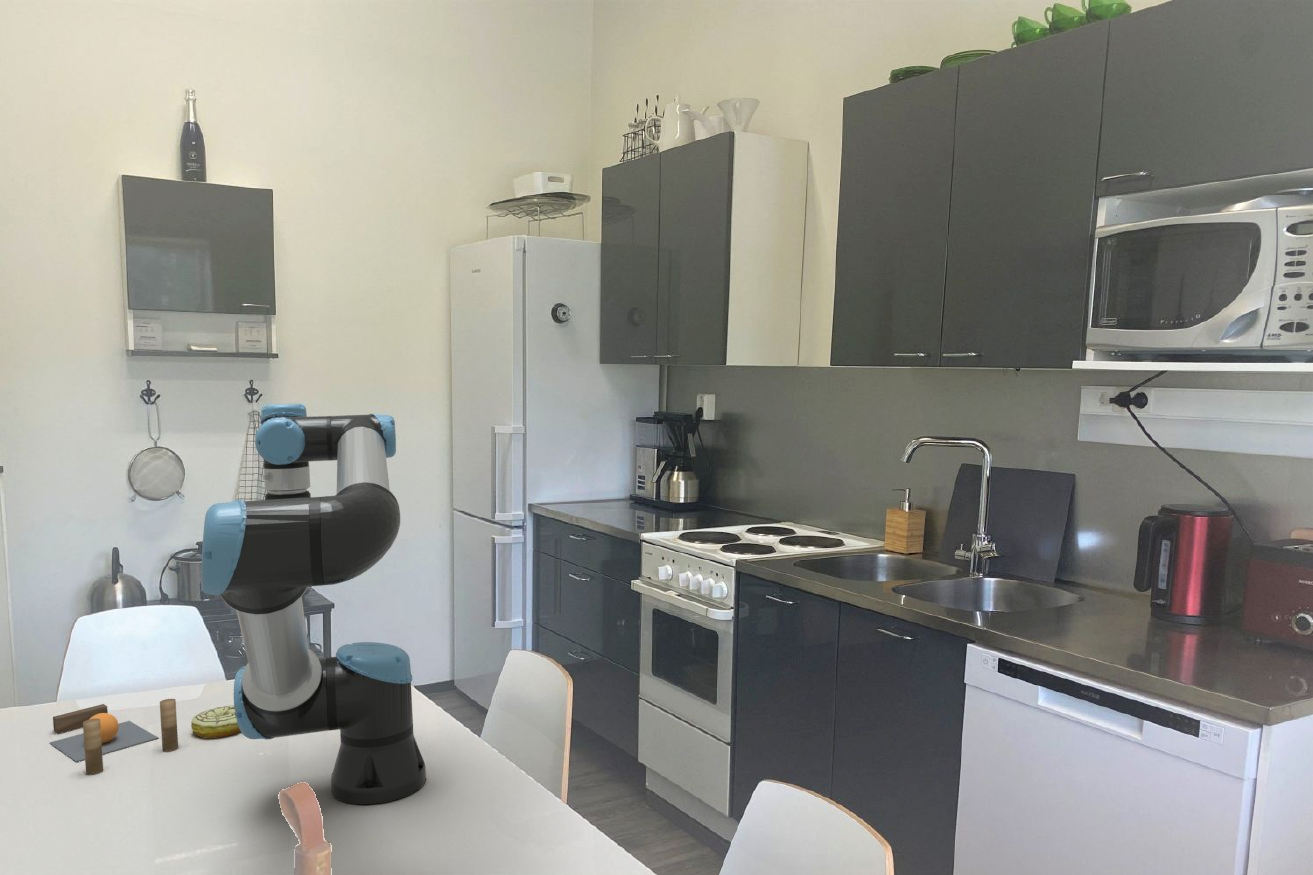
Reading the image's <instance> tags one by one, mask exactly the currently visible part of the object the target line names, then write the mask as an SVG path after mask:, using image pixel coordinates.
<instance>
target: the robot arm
mask: <svg viewBox="0 0 1313 875" xmlns="http://www.w3.org/2000/svg"><path fill="white" fill-rule="evenodd" d="M260 410H261V412H260V414H261V415H260V420H259V421H260V426H258V429H257V431H256V433H255V437H254V438H255V440H254V444H255V448H256V452H257V453H258V455H259V456H260V457H261V458H262V459H263V473H264V474H263V475H262V479H263V480H264V490H265V491H267V492H268V493H266V494H265V495H264V499H262V500H261V499H260V500H259V499H258V500H243V499H236V500H235V501H228V502H226V501H225V502H218V503H215V504H212V505H210V507H209V508H208V509H207V511H206V513H205V516H204V523H203V524H204V525H203V534H202V549H201V551H202V552H201V567H200V568H201V571H200V581H201V582H200V588H201V592H202V593H203V594H205V595H213V596H215V597H216V596H217V597H218V596H220V597H221V599H222V600H223V602H224V603H225V604H226V605H227V606H228V607H230V608H232V609H233V611H234V610H235V612H236V614H237V619H238V623H239V627H240V628H239V629H240V633H241V637H242V641H243V645H244V651H245V655H246V659H247V664H246V665H244V666H242V667H240V668H239V670H238V671H237V672H236V674H235V677H234V681H233V705H234V708H235V712H236V719H237V723H238V726H239V729H240V733H241V734H242V735H243V736H244V737H245V738H247V739H249V740H272V739H275V738H276V739H277V738H283V737H290V736H297V735H305V734H314V733H320V732H328V731H338V730H339V731H340V733H339V736H340V745H339V749H338V752H337V756H336V760H335V763H334V767H333V769H332V770H333V771H332V773H331V778H330V789H331V794H332V796H333V797H334V798H335V799H336V800H338V801H340V802H343V803H346V804H353V805H373V804H374V805H376V804H382V803H388V802H392V801H396V800H399V799H403V798H404V797H407V796H410V795H411V794H413V793H415V792H417V791H418V790H420V789H421V788H422V787H423V786H424V784H425V782H426V780H427V775H426V772H427V770H426V764H425V761H424V758H423V755H422V753H421V751H420V748H419V745H418V743H417V740H416V737H415V735H414V718H413V717H414V715H413V695H412V681H413V678H414V677H413V674H412V670H411V659H410V656H409V654H408V653H407V651H405V650H404V649H403V648H402V647H399V646H397V645H395V644H394V645H392V644H389V643H384V642H383V643H382V642H375V641H364V642H363V641H362V642H352V643H350V644H349V643H346V644H344V645H341V646H340V647H338V649H337V650H336V652H335V656H330V657H318V656H317V655H316V654H315V652H314V651H313V650H312V649H310V647H309V640H308V635H307V627H306V618H305V617H306V616H305V612H304V611H305V610H304V604H303V595H304V594H305V593H306V591H307V589H308V587H319V586H320V587H321V586H332V585H338V584H340V583H344V582H348V581H350V580H353V579H354V578H357V577H359V576H361V575H363V574H364V573H366V572H367V571H369V570H370V569H371V568H373V567H374V566H375V565H376V564H377V563H379V562H380V560H382V559H383V558H384V556H385V555H386V554H387V552H388V551H390V549H391V548H392V546H393V544H394V542H395V541H396V538H397V537H398V534H399V530H400V526H401V512H400V510H401V509H400V505H399V502H398V499H397V497H396V495H394V493H393V492H392V491H391V489H390V482H389V473H388V462H387V458H388V459H389V458H392V457H395V455H396V452H397V438H396V435H397V434H396V424H395V422H396V421H395V419H394V417H393V415H390V414H375V413H369V414H351V415H350V414H349V415H327V416H326V415H323V416H322V415H319V416H308V415H307V408H306V406H305V405H304V404H302V403H273V404H272V403H271V404H270V403H269V404H265V405H263V406H262V408H261V409H260ZM323 461H327V462H328V461H336V494H335V495H331V496H330V495H327V496H326V495H325V496H314V497H313V496H311V492H310V491H309V490H308V489H309V488H310V487H311V476H310V474H311V473H310V471H311V470H310V463H309V462H323Z"/></svg>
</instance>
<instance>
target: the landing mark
mask: <svg viewBox="0 0 1313 875" xmlns="http://www.w3.org/2000/svg"><path fill="white" fill-rule="evenodd" d="M118 725H119V728H118V732H117V734H116V735H115V737H114V738H113V739H112V740H110V741H109V742H107V743H104V744H102V756H104V755H107V754H110V753H109V752H111V753H114V752H117V751H122V750H123V749H127V747H128V748H130V746H131V747H133V746H134V745H135V746H137V745H141V744H145V743H149V742H151V741H150V740H152V741H155V740H157V739H156V738H158V739H159V737H158V736H157V735H156V734H155V735H154V734H152V732H150V731H148V730H147V729H145V728H143V727H141V726H139V725H138V724H136V723H134V722H132V721H130V720H127V721H122V722H120V723H119V722H118ZM154 739H155V740H154ZM49 744H50V745H51V746H53V747H54V748H55V749H57V750H58V751H60V752H61V753H62V752H63V753H62V754H64V755H65V756H66V755H67V757H68V758H69V759H70V760H72V759H73V760H74V762H75V763H80V762H83V761H85V749H84V734H83V733H80V734H75V735H72V736H68V737H65V738H61V739H58V740H53V741H50V742H49ZM106 753H107V754H106ZM73 760H72V761H73ZM79 761H80V762H79Z"/></svg>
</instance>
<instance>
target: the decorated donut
mask: <svg viewBox="0 0 1313 875" xmlns="http://www.w3.org/2000/svg"><path fill="white" fill-rule="evenodd" d="M190 722H191V726H190V727H191V730H192V731H193V733H194V734H195V735H196V734H197V735H196V736H198V737H199V736H200V738H203V737H207V738H206V739H216V738H215V737H220V738H224V737H228V736H234V735H236V734H239V733H241V731H240V729H239V726H238V723H237V719H236V712H235V708H234V704H231V705H225V706H218V707H215V708H212V709H207V710H205V711H202V712H200V713H198V714H196V715H194V716H193V718H192V719H191V721H190Z"/></svg>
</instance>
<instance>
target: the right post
mask: <svg viewBox="0 0 1313 875" xmlns="http://www.w3.org/2000/svg"><path fill="white" fill-rule="evenodd" d="M159 714H160V727H161V728H160V729H161V732H160V733H161V745H162V747H161V748H162V752H165V753H166V752H174V751H175V750H177V748H178V749H179V737H178V734H179V733H178V720H177V702H176V698H166V699H162V700H160V701H159Z"/></svg>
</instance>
